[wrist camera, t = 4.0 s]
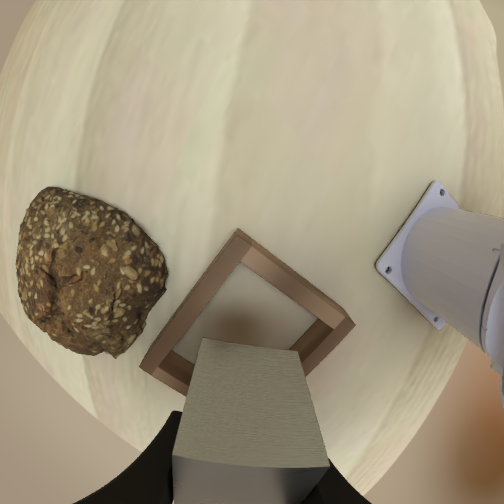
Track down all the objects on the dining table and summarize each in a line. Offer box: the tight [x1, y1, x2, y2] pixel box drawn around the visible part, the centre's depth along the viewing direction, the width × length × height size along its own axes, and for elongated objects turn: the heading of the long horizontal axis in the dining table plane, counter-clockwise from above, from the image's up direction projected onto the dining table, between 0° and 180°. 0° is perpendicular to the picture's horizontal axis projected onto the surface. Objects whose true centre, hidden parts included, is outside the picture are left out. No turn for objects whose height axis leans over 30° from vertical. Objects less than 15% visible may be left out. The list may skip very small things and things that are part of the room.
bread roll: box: [16, 187, 168, 359], centre depth 15 cm, size 13×12×5 cm
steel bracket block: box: [172, 338, 330, 504], centre depth 9 cm, size 6×4×6 cm, turn 170°
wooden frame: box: [139, 228, 355, 397], centre depth 17 cm, size 9×11×2 cm
